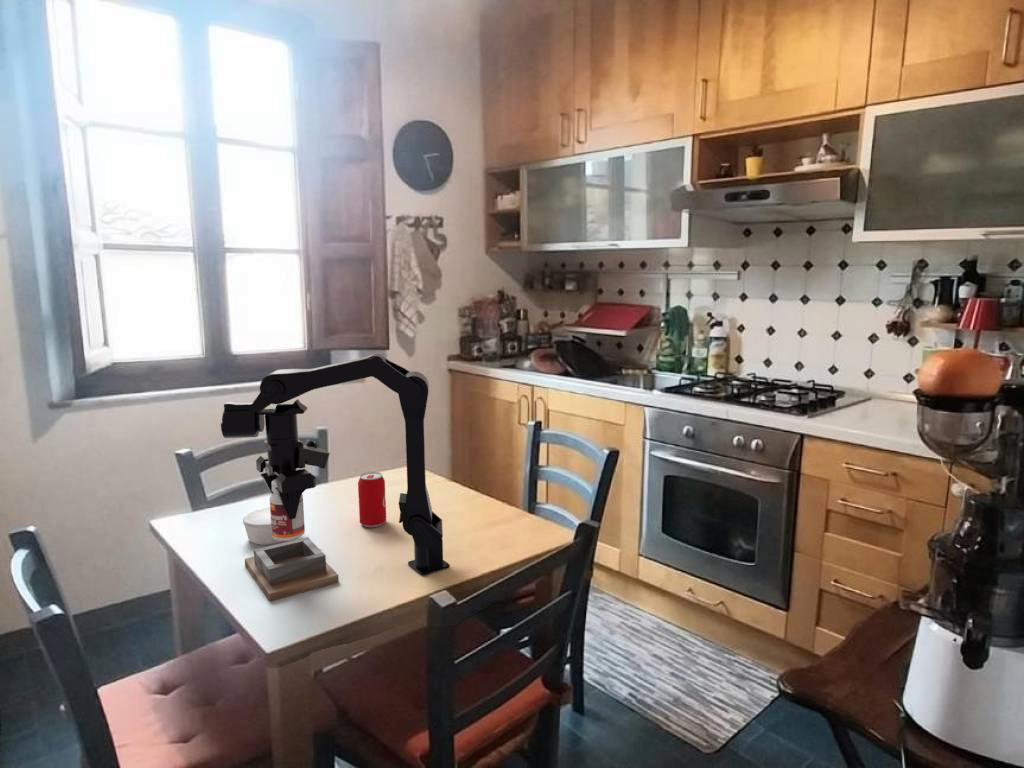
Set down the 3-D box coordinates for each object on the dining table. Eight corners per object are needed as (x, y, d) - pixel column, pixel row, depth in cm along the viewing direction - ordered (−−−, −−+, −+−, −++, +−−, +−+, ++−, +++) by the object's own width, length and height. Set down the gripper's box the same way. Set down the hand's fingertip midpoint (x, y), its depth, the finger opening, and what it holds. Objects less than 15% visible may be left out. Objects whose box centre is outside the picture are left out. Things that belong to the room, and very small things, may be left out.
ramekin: (307, 534, 149) (306, 512, 148) (267, 551, 140) (266, 528, 139) (274, 524, 155) (273, 503, 154) (234, 541, 145) (232, 518, 144)
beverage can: (389, 519, 158) (388, 471, 155) (382, 529, 151) (380, 479, 149) (364, 518, 158) (362, 471, 156) (356, 528, 152) (353, 479, 150)
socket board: (338, 582, 125) (337, 560, 125) (269, 601, 118) (268, 578, 117) (308, 550, 140) (307, 530, 139) (245, 565, 133) (243, 544, 132)
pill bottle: (265, 539, 126) (261, 483, 124) (286, 528, 132) (282, 474, 130) (291, 543, 124) (287, 486, 122) (311, 531, 129) (308, 477, 128)
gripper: (340, 439, 121) (344, 519, 124) (308, 421, 136) (312, 492, 139) (279, 449, 115) (285, 532, 118) (253, 429, 130) (258, 503, 133)
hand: (287, 513), depth 127 cm, fingers closed on pill bottle, 6 cm apart
